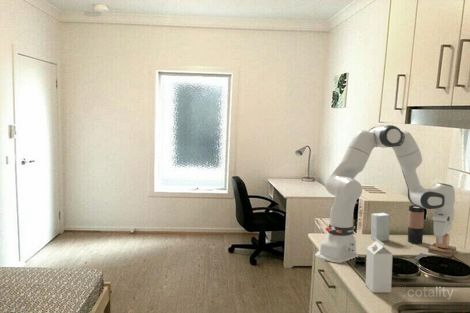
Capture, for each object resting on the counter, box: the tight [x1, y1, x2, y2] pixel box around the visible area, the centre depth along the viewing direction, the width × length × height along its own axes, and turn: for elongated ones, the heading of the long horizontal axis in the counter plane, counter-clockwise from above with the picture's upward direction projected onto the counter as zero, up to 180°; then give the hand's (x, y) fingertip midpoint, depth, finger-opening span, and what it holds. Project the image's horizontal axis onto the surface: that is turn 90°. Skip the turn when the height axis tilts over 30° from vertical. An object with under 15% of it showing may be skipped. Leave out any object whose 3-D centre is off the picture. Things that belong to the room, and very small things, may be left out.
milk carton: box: [365, 239, 393, 294], centre depth 140 cm, size 7×7×19 cm
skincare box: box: [370, 212, 391, 242], centre depth 204 cm, size 8×6×15 cm
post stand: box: [427, 242, 457, 258], centre depth 185 cm, size 12×10×8 cm
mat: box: [413, 252, 433, 261], centre depth 174 cm, size 11×10×1 cm
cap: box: [435, 234, 451, 248], centre depth 184 cm, size 5×5×6 cm
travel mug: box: [407, 204, 425, 245], centre depth 199 cm, size 8×8×20 cm
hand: (442, 241), depth 184 cm, fingers closed on cap, 5 cm apart
